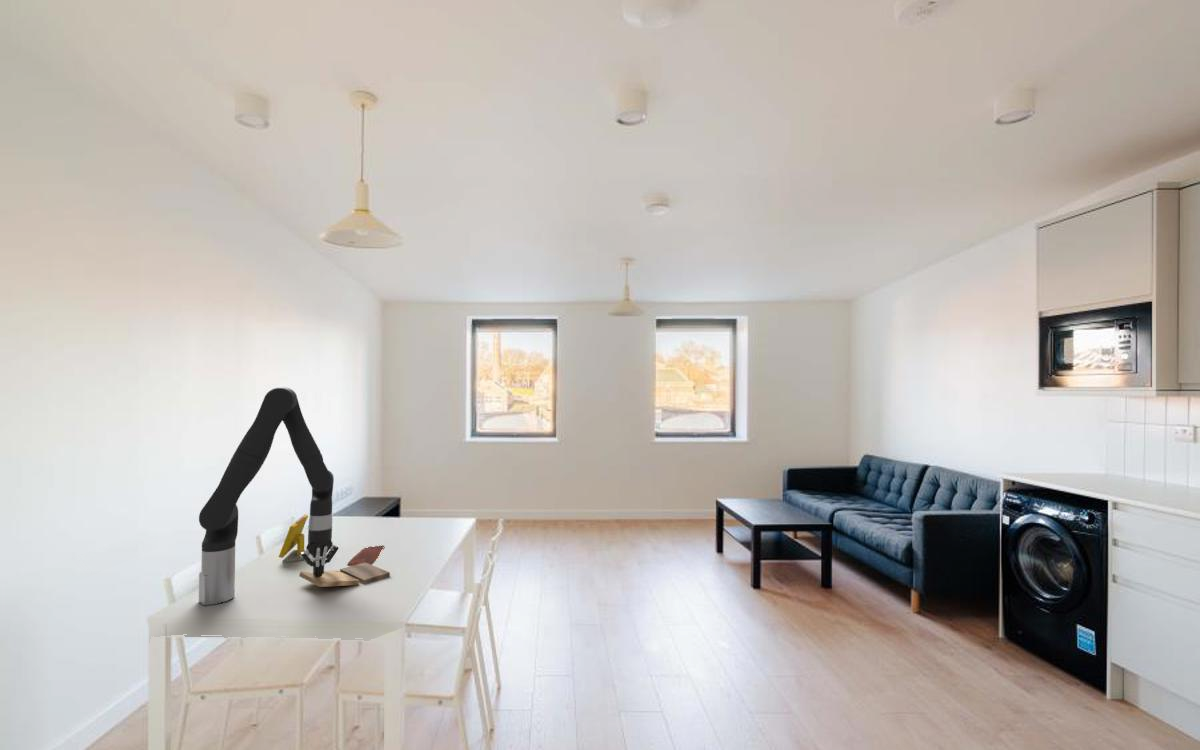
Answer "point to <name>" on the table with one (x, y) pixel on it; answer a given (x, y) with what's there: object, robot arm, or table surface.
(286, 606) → the table surface
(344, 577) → the light wood board
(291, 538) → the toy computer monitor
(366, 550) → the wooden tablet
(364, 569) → the walnut board
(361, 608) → the table surface
